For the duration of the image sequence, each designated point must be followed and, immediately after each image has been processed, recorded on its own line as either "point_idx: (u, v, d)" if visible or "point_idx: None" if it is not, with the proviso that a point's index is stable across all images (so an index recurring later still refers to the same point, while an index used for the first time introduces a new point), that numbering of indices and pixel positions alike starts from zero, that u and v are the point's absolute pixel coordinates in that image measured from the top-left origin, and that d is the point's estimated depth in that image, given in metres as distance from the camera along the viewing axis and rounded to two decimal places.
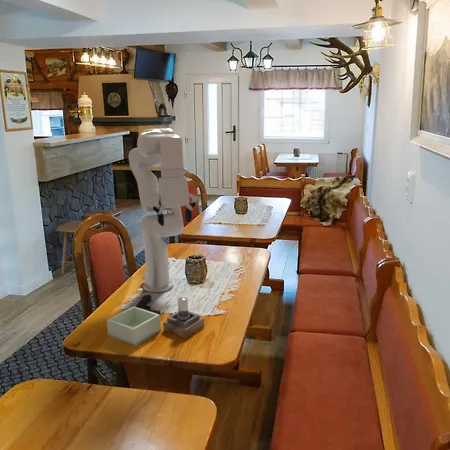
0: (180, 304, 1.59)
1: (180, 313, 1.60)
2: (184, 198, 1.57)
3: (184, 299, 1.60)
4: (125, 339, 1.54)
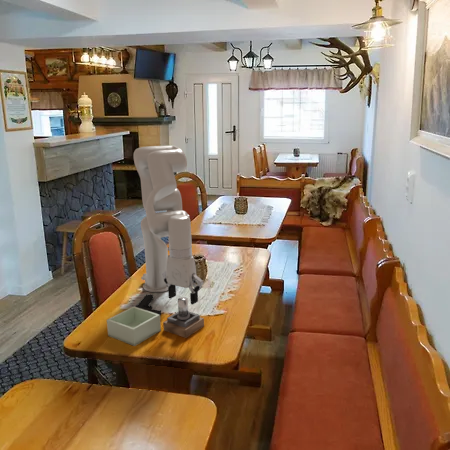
0: (180, 304, 1.59)
1: (180, 313, 1.60)
2: None
3: (184, 299, 1.60)
4: (125, 339, 1.54)
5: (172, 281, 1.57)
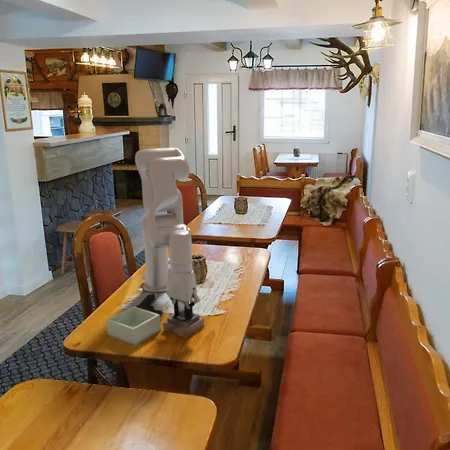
0: (180, 304, 1.59)
1: (180, 313, 1.60)
2: None
3: None
4: (125, 339, 1.54)
5: (172, 295, 1.59)
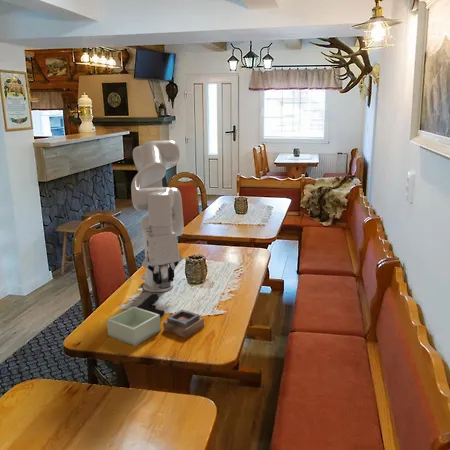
0: (165, 268, 1.55)
1: (165, 278, 1.56)
2: None
3: None
4: (125, 339, 1.54)
5: (160, 261, 1.52)
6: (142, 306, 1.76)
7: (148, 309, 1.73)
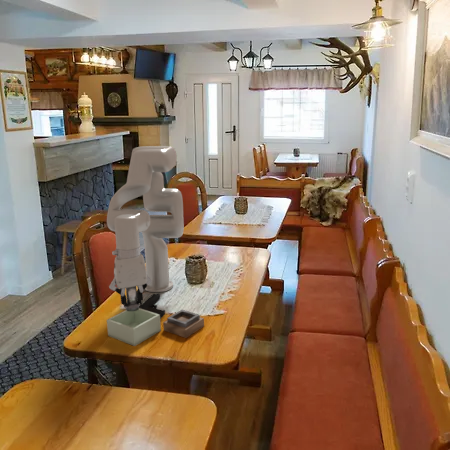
0: (133, 291, 1.54)
1: (133, 301, 1.55)
2: None
3: None
4: (125, 339, 1.54)
5: (127, 284, 1.52)
6: (143, 306, 1.76)
7: (149, 309, 1.73)
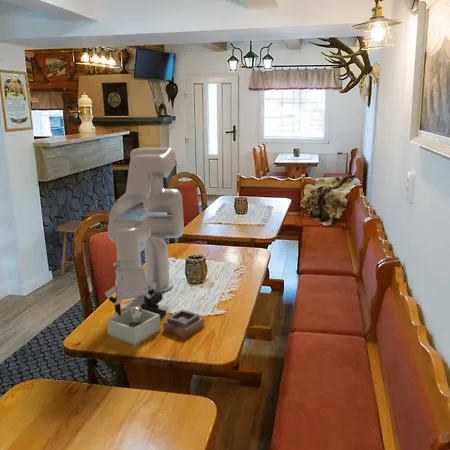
0: (137, 313, 1.58)
1: (136, 322, 1.58)
2: None
3: (138, 307, 1.59)
4: (125, 339, 1.54)
5: (128, 295, 1.53)
6: None
7: (150, 309, 1.73)
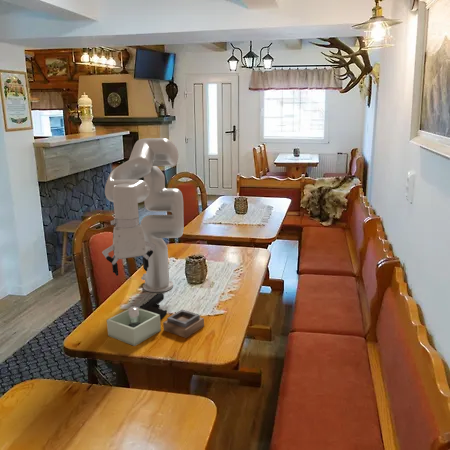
0: (134, 313, 1.57)
1: (134, 323, 1.58)
2: None
3: (135, 308, 1.59)
4: (125, 339, 1.54)
5: (125, 254, 1.50)
6: (146, 305, 1.76)
7: (151, 308, 1.74)
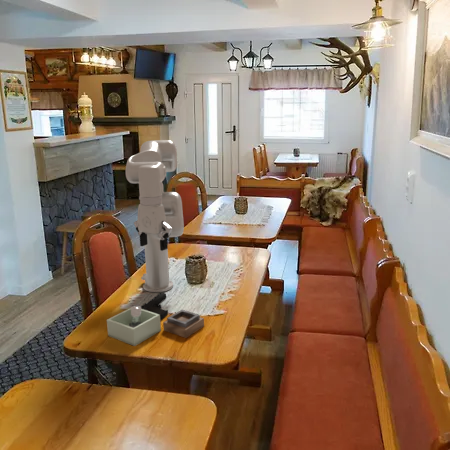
0: (135, 312, 1.58)
1: (135, 322, 1.58)
2: None
3: (138, 307, 1.59)
4: (125, 339, 1.54)
5: (143, 229, 1.64)
6: (147, 305, 1.77)
7: (152, 308, 1.74)
